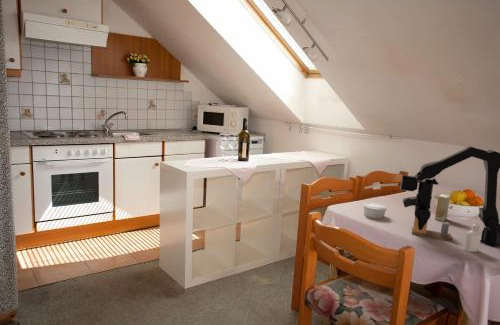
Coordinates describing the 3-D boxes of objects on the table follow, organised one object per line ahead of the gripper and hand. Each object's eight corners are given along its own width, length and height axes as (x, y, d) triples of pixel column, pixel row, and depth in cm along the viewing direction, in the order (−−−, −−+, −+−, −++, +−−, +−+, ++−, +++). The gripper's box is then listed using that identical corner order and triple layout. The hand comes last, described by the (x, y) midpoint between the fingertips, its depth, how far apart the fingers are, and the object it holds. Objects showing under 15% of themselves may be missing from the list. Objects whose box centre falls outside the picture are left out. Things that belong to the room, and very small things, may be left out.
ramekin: (371, 220, 196) (373, 209, 195) (357, 213, 206) (358, 203, 205) (390, 218, 200) (391, 208, 199) (375, 212, 210) (376, 202, 209)
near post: (446, 234, 178) (448, 222, 177) (447, 236, 176) (449, 224, 175) (440, 233, 179) (442, 221, 178) (440, 235, 177) (442, 223, 176)
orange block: (425, 230, 182) (427, 216, 181) (425, 233, 178) (427, 219, 176) (413, 228, 184) (415, 214, 183) (412, 231, 180) (414, 217, 178)
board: (450, 236, 180) (451, 234, 179) (451, 241, 173) (452, 239, 173) (412, 229, 185) (412, 227, 185) (411, 234, 179) (411, 231, 179)
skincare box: (437, 216, 208) (441, 193, 206) (447, 218, 206) (450, 195, 203) (434, 219, 203) (437, 195, 201) (443, 221, 201) (447, 197, 199)
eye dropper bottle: (480, 253, 161) (485, 224, 159) (465, 251, 162) (470, 222, 160) (477, 249, 165) (481, 221, 163) (462, 247, 166) (466, 219, 164)
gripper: (406, 186, 189) (401, 218, 192) (404, 194, 172) (399, 229, 175) (432, 189, 185) (427, 222, 188) (433, 198, 168) (427, 234, 171)
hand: (420, 226), depth 181 cm, fingers open, 9 cm apart
